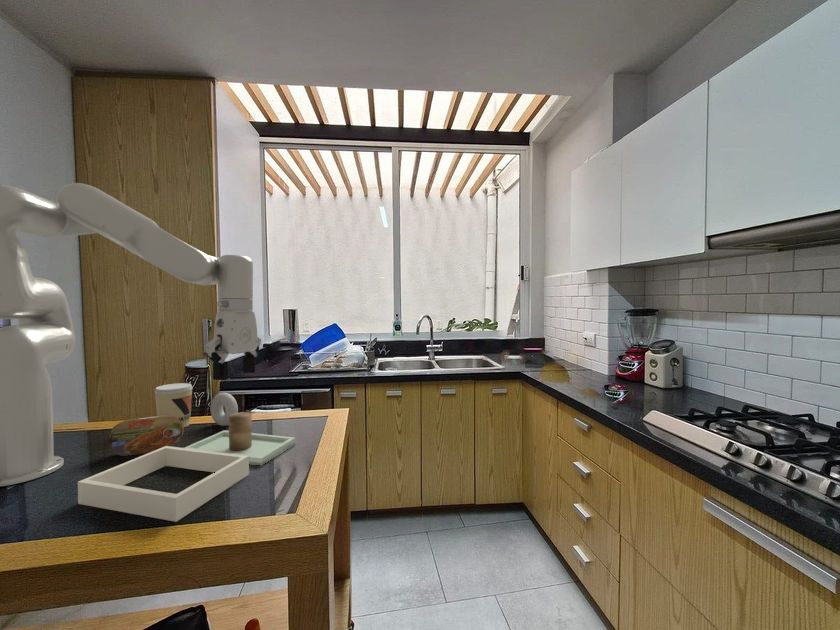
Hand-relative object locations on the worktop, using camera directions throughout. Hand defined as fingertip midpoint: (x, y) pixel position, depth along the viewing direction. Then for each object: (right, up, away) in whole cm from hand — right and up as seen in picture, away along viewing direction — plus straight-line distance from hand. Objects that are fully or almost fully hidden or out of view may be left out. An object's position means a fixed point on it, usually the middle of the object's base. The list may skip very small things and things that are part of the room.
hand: (235, 375), depth 87 cm
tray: (+1, -19, +1) cm, 19 cm away
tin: (-22, -19, 0) cm, 29 cm away
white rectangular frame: (-4, -19, -17) cm, 26 cm away
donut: (-13, -18, +19) cm, 30 cm away
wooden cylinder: (+1, -18, +1) cm, 18 cm away
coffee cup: (-28, -18, +18) cm, 38 cm away
